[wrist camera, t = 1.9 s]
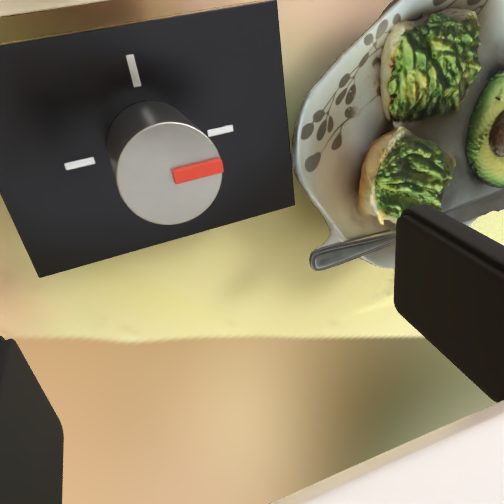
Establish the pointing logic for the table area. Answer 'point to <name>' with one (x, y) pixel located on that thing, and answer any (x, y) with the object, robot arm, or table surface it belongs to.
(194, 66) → the hob panel
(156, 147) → the stove knob
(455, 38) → the salad plate
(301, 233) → the table surface
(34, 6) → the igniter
